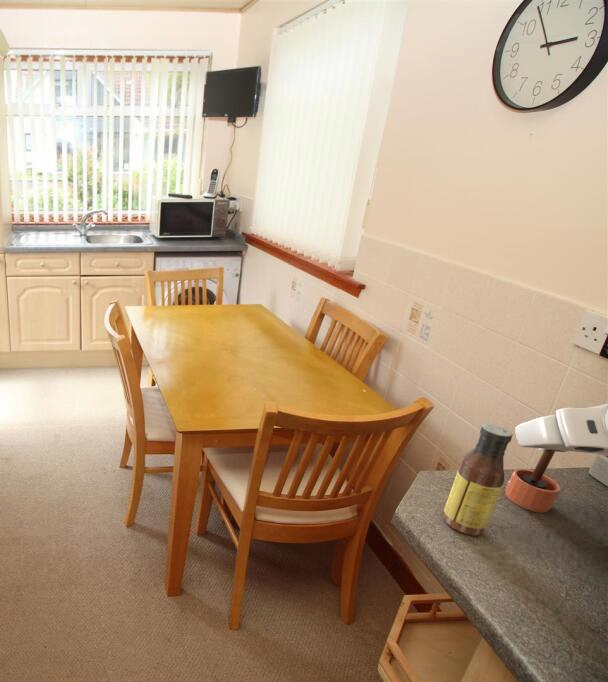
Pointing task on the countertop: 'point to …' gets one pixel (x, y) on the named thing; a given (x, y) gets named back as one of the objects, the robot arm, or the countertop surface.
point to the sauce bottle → (478, 482)
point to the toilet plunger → (539, 471)
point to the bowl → (532, 492)
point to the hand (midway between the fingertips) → (548, 446)
